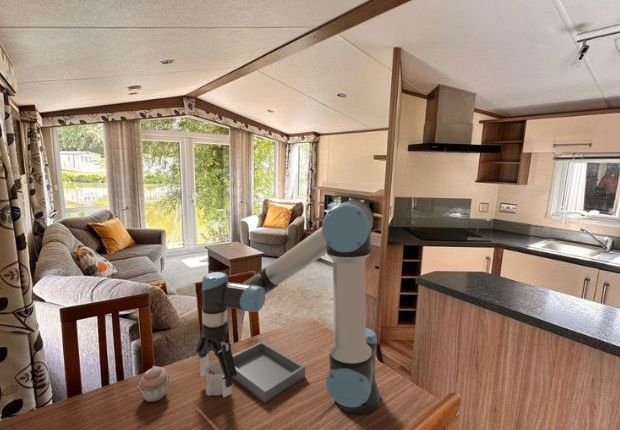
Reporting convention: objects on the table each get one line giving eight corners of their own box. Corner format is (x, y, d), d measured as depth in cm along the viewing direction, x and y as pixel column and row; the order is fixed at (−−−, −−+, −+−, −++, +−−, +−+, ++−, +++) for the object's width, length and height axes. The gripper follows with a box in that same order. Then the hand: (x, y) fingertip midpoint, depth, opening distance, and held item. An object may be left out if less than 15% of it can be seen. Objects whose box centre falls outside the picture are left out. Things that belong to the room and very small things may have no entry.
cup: (219, 407, 95) (219, 383, 94) (195, 402, 97) (195, 379, 96) (234, 384, 106) (234, 362, 105) (213, 380, 107) (212, 359, 106)
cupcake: (157, 382, 106) (156, 354, 105) (177, 391, 102) (176, 362, 101) (131, 399, 98) (130, 369, 96) (151, 410, 94) (150, 379, 92)
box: (305, 377, 110) (305, 366, 110) (265, 403, 97) (265, 391, 97) (261, 350, 126) (261, 341, 126) (222, 370, 113) (222, 359, 113)
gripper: (248, 332, 93) (248, 397, 96) (205, 306, 109) (206, 362, 112) (226, 341, 87) (226, 410, 90) (184, 312, 104) (185, 372, 107)
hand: (215, 384), depth 101 cm, fingers open, 13 cm apart
